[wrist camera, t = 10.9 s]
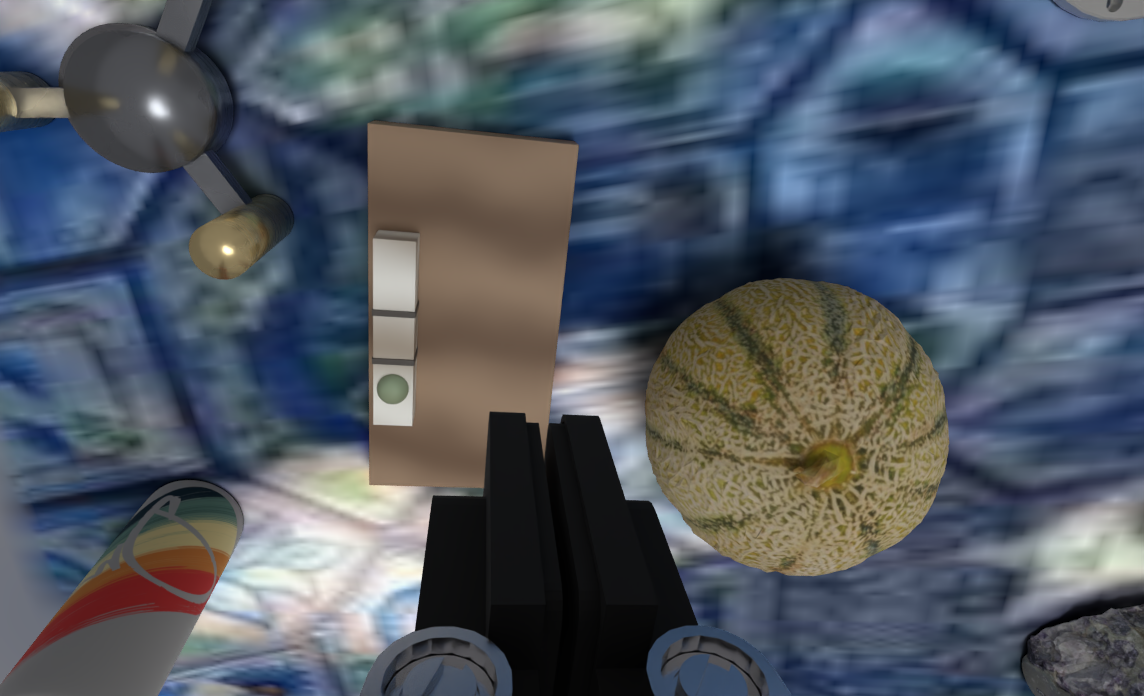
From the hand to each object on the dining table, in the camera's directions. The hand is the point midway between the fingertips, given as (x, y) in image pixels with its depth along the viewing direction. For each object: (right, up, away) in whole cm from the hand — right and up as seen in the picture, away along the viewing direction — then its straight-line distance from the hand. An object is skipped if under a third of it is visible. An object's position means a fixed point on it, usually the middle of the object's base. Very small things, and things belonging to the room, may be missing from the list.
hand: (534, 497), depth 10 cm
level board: (-5, +4, +27) cm, 28 cm away
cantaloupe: (+11, +1, +31) cm, 32 cm away
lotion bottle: (-22, -8, +30) cm, 38 cm away
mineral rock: (+43, -21, +44) cm, 65 cm away
